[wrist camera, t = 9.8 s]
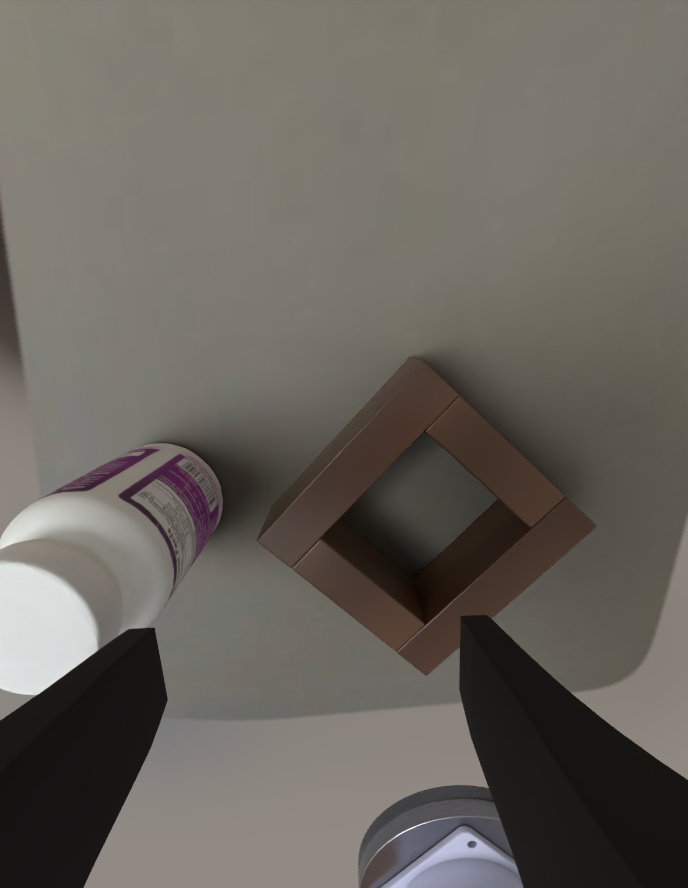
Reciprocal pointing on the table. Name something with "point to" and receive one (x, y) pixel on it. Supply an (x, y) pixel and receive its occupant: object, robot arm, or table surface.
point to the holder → (463, 562)
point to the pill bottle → (99, 559)
